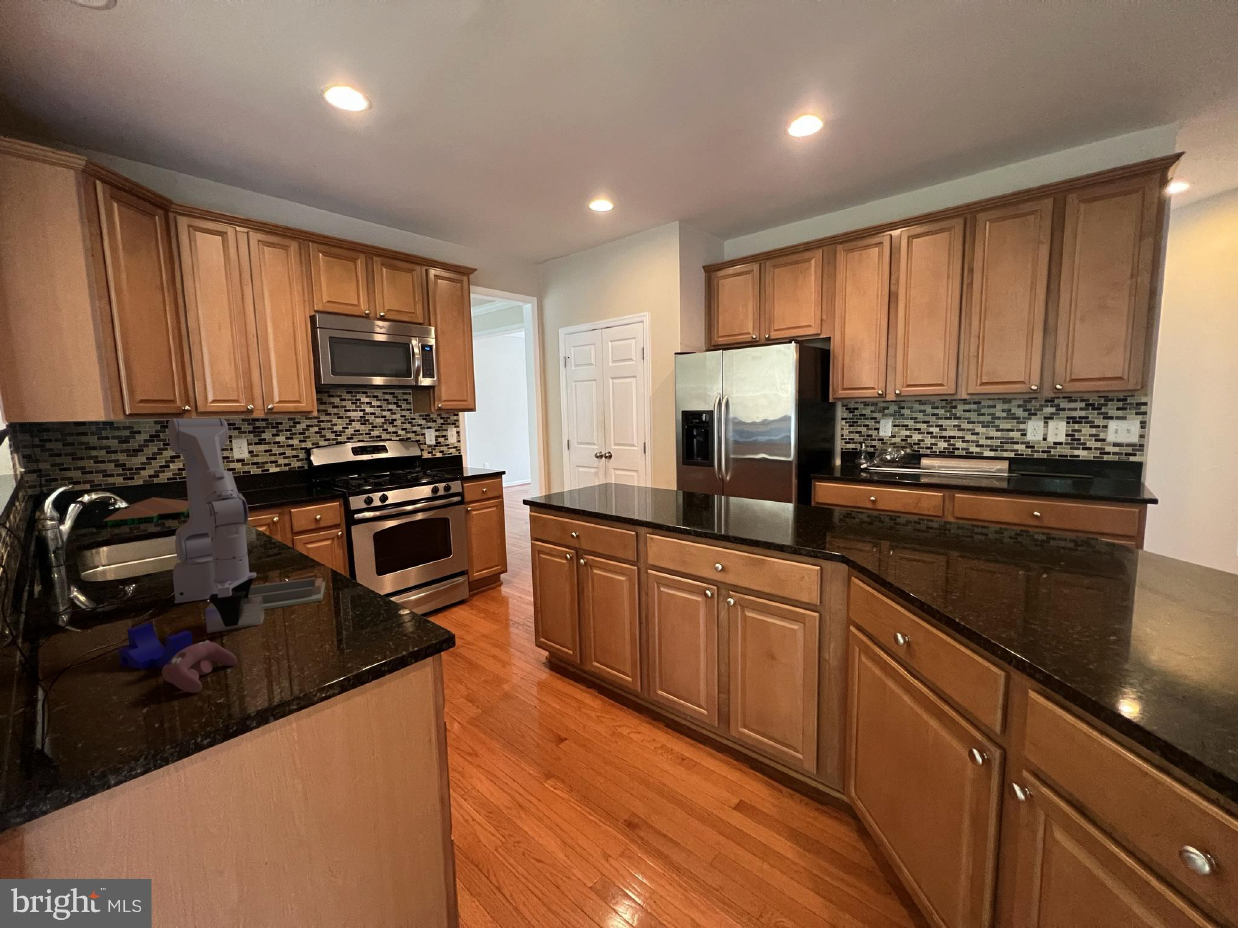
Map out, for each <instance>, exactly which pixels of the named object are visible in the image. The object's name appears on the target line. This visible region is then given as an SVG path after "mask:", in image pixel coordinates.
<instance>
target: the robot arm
mask: <svg viewBox="0 0 1238 928" xmlns="http://www.w3.org/2000/svg"><path fill="white" fill-rule="evenodd" d="M167 424H168V425H167V428H168V429H167V430H168V432H167V433H168V440H169V448H170V449H171V452H172V453H175V454H180V455H181V457H182V458H183V459H182V460H183V461H184V468H185V469H184V471H185V480H186V488H187V489H186V490H187V491H186V493H187V501H188V504H189V512H188V513H189V520H188V521H187V522H186V523H184V524H183V525H181V526H180V527H178V528H177V529H176V530H175V531H176V532H175V541H174V547H175V553H176V556H177V557H176V558H177V560H178V561H179V562H176V563H175V564H174V566H173V569H172V580H173V590H174V599H175V600H174V601H173V602H174V604H180V603H188V602H195V601H196V602H197V601H202V600H209V602H210V603H212V604H213V605H214V606H215V607H216V609H217V610H218V612H219V614H220V616H221V619H222V621H223V624H224V626H225V627H229V626H236V625H238V623H239V618H240V607H241V602H242V599H245V598H248V597H249V592H250V588H251V586H253V583H254V581H255V578H256V577H257V572H255V571H253V572H250V566H249V556H248V544H247V531H246V524H248V522H249V508H248V503H247V501H246V498H245V497H244V496H243V494H242V493H240V492H239V491H238V488H237V484H236V482H235V479H234V475H233V473H231V472H230V471H229V470H225V468H224V462H223V457H222V455H223V454H222V449H223V448H225V447H226V445H227V443H228V441H229V426H228V423H227V421H226V419H224V418H223V417H217V418H216V417H215V418H209V417H208V418H176V417H173V418H171V419H170V420H169V421H168V423H167Z"/></svg>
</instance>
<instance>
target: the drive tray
mask: <svg viewBox="0 0 1238 928" xmlns="http://www.w3.org/2000/svg"><path fill="white" fill-rule="evenodd" d="M323 580H324V579H323V577H320V578H315V577H310V578H303V579H294V580H288V581H287V580H286V581H281V582H272V583H264V584H256V585H251V588H250V592H249V597H248V598H252V597H259V596H263V606H264V610H269V609H277V608H281V607H282V608H283V607H288V606H289V607H291V606H296V605H302V604H303V605H304V604H310V603H315V602H322V601H323V598H324V597H323V596H324V592H325V587H326V581H323Z"/></svg>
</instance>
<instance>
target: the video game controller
mask: <svg viewBox="0 0 1238 928" xmlns="http://www.w3.org/2000/svg"><path fill="white" fill-rule="evenodd" d="M213 662H214V663H216V664H218V665H222V666H226V667H227V666H228V667H233V666H235V665H236V664H237V663H238V660H237V657H236V655H235V654H234V653H233V652H231V651H230V650H228V649H226V648H224V647H222V646H221V645H219V644H218V643H216V642H213V641H210V640H208V639H206V640H204V641H201V642H197V643H194V644H193V645H191V646H189V647H186V648H184V649H183V650H181V651H180V652H178V653H177V654H176V655H175V656H174V657H173V658H172V659H171V660H170V661H169V662H168V663H167V664H166V665H165V666H164V667H163V668H162V670H161V675H162V677H163V679H164V680H165V681H166V682H167V683H170V684H172V685H174V686H175V687H177V688H178V689H179V690H181V691H184V692H187V693H190V694H198V693H199V692H200V691H202V689H203V685H202V682H201V681H200V680H199V679H200V676H205V675H207V674H210V672H212V670H213ZM194 664H195V665H194ZM193 665H194V669H193V668H191V667H192V666H193Z"/></svg>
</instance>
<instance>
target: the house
mask: <svg viewBox="0 0 1238 928" xmlns="http://www.w3.org/2000/svg"><path fill="white" fill-rule="evenodd" d="M129 505H130V507H129V508H127V509H122V508H120V509H119V510H118V511H116V512H114V513H112V514H111V515H110V516H108V517H106V518H105V519H103V522H106V523H107V528H109V527H112V525H114V524H116V523H117V522H119V524H123V523H127V526H130V525H136V524H138V523H139V522H140V523H142V521H143V523H142V524H144V521H145V520H148V522H150V521H153V523H156V522H157V521H158V520H159V519H160V515H164V517H165V515H166V514H168V515H171V514H176V516H177V517H178V516H179V515H178V514H179V513H181V514H182V516H183V515H184V516H187V514H188V513H189V504H188V500H182V499H172V498H164V497H162V498H161V497H153V496H152V497H150V498H147V499H144V500H141V501H138V502H135V503H132V504H129ZM171 517H172V518H173V515H171ZM142 518H145V519H142ZM150 518H151V519H150Z"/></svg>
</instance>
